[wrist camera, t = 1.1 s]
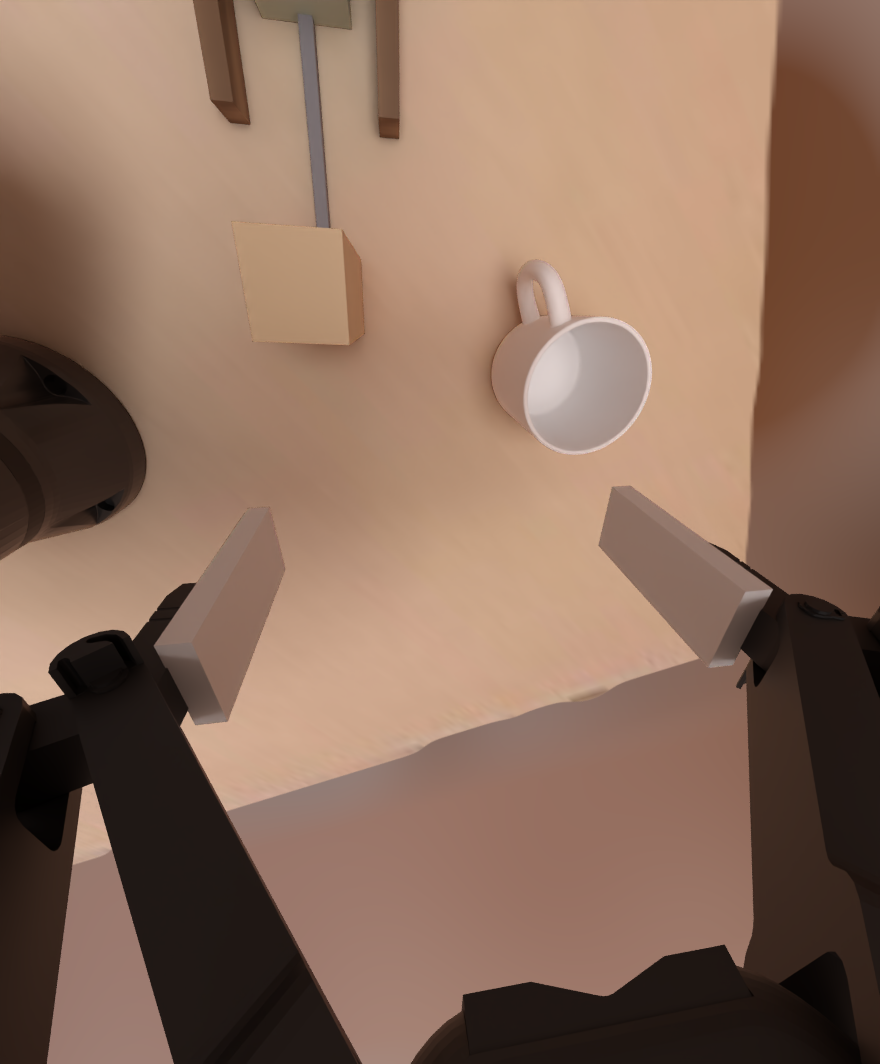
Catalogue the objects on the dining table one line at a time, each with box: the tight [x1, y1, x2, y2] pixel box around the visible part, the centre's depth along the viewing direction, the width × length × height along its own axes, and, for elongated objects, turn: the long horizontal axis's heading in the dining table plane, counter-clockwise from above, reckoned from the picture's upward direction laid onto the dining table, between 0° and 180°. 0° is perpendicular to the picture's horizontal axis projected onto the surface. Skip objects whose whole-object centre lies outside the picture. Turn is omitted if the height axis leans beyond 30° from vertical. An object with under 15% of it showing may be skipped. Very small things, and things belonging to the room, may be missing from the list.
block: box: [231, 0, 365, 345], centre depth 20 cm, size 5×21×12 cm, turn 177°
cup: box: [491, 259, 652, 455], centre depth 28 cm, size 8×12×10 cm
